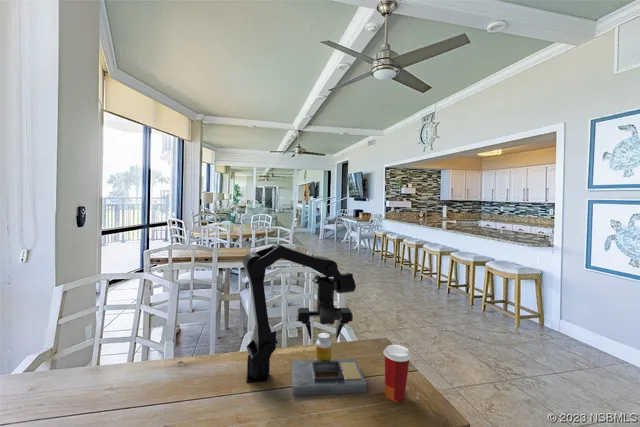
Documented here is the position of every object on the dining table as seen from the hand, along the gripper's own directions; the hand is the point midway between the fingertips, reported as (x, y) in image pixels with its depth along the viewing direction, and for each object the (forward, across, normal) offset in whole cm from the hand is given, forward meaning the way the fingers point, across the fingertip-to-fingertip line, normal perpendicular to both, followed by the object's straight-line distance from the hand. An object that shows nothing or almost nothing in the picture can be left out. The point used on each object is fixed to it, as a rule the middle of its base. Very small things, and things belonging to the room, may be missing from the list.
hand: (323, 338), depth 107 cm
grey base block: (+9, 0, -10) cm, 13 cm away
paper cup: (+9, +19, -19) cm, 28 cm away
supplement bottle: (+9, 0, 0) cm, 9 cm away
